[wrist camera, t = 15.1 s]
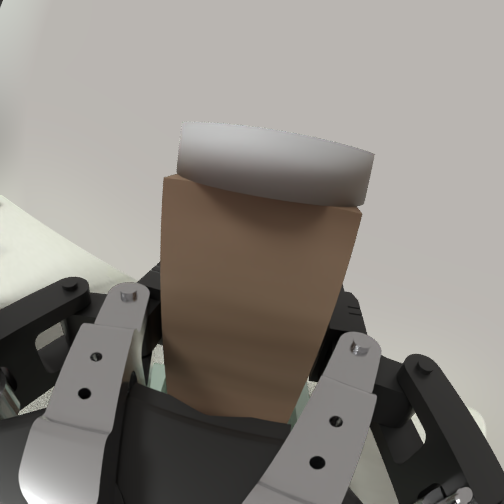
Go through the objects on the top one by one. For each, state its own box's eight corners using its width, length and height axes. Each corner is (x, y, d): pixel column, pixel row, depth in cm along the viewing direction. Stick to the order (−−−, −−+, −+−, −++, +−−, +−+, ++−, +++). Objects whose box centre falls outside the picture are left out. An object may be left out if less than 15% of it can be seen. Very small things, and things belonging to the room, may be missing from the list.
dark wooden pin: (259, 494, 10) (401, 159, 4) (168, 470, 11) (142, 118, 5) (273, 427, 14) (355, 151, 9) (196, 408, 15) (217, 127, 9)
